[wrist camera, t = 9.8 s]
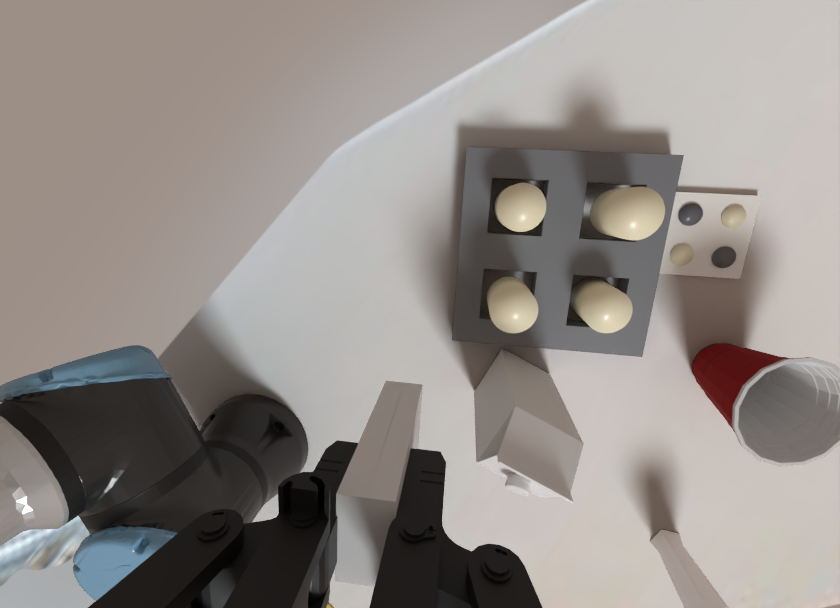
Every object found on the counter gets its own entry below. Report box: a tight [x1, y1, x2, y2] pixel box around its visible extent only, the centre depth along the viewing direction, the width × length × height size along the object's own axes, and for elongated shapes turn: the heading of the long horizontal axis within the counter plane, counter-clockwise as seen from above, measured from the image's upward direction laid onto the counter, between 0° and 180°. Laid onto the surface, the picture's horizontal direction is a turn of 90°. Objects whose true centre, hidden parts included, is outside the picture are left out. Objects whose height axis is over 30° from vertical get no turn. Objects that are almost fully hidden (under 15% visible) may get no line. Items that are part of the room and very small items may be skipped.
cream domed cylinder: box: [590, 187, 665, 240], centre depth 39 cm, size 5×5×6 cm
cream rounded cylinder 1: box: [494, 183, 546, 232], centre depth 43 cm, size 5×5×6 cm
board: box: [452, 147, 684, 357], centre depth 46 cm, size 22×22×2 cm
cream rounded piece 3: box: [570, 278, 633, 333], centre depth 44 cm, size 5×5×6 cm
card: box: [659, 192, 761, 279], centre depth 44 cm, size 9×9×1 cm
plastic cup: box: [692, 344, 840, 466], centre depth 42 cm, size 11×11×12 cm
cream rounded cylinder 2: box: [487, 276, 538, 333], centre depth 43 cm, size 5×5×6 cm
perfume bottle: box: [650, 530, 729, 608], centre depth 47 cm, size 5×4×15 cm
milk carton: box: [474, 349, 583, 503], centre depth 42 cm, size 7×7×19 cm
